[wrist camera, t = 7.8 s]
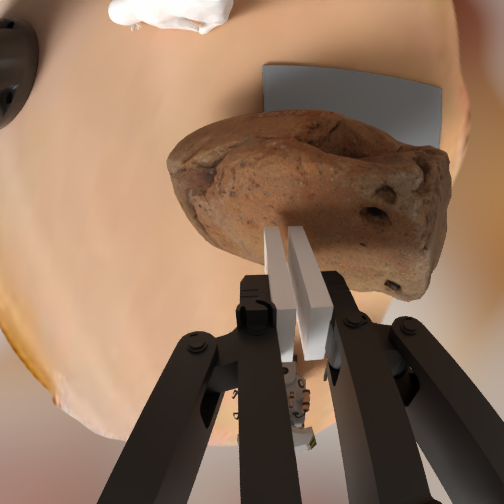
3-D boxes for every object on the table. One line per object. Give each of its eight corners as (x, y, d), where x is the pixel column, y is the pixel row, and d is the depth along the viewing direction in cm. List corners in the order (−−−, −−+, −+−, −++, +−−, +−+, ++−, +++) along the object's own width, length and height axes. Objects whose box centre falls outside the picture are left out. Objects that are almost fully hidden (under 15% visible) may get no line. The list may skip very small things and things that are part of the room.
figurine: (229, 356, 42) (228, 447, 29) (306, 352, 42) (324, 439, 29) (233, 389, 46) (233, 468, 33) (300, 385, 46) (313, 462, 33)
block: (252, 204, 31) (450, 240, 18) (206, 255, 28) (422, 329, 15) (205, 115, 24) (447, 94, 11) (142, 162, 21) (430, 164, 8)
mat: (262, 65, 23) (262, 65, 23) (439, 88, 24) (442, 88, 23) (267, 267, 34) (267, 270, 34) (416, 258, 34) (418, 260, 34)
